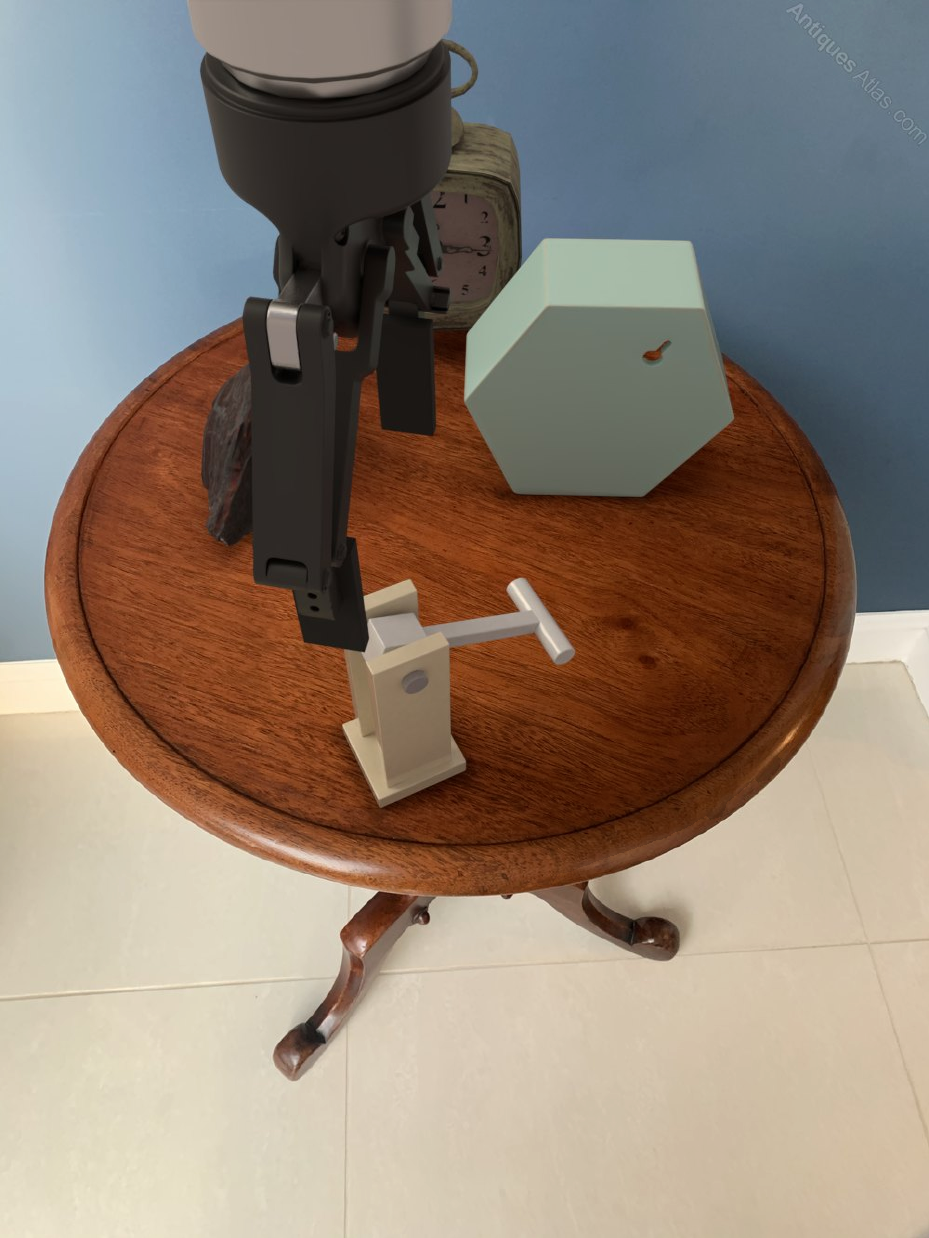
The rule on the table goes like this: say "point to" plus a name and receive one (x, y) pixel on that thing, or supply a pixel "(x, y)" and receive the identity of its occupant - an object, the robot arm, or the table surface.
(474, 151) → the tabletop clock
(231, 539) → the rock
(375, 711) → the faucet bracket
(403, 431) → the robot arm
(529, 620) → the faucet handle
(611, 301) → the planter
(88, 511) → the table surface
